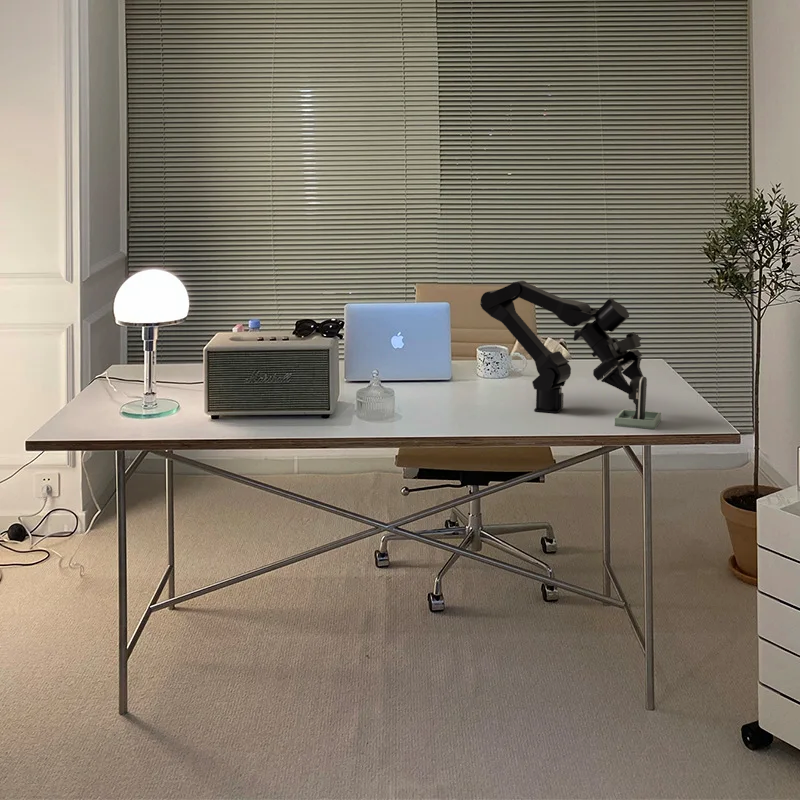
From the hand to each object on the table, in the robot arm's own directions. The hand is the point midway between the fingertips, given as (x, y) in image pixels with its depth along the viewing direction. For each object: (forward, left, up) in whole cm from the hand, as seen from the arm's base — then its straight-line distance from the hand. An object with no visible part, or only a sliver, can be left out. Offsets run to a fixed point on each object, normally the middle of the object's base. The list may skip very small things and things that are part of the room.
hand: (638, 390), depth 267 cm
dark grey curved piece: (0, 0, -8) cm, 8 cm away
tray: (0, 0, -9) cm, 9 cm away
